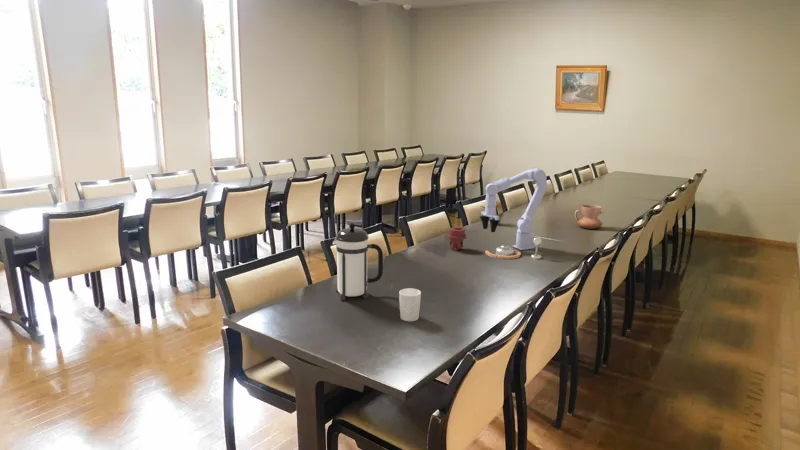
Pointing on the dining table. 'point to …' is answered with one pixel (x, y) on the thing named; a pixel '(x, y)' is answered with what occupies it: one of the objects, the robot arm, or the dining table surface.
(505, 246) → the cast cover
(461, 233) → the mechanical component
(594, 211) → the ceramic jug
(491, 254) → the ring
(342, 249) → the coffee press
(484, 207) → the house plant
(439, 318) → the dining table surface
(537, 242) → the wine glass
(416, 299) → the white cup
